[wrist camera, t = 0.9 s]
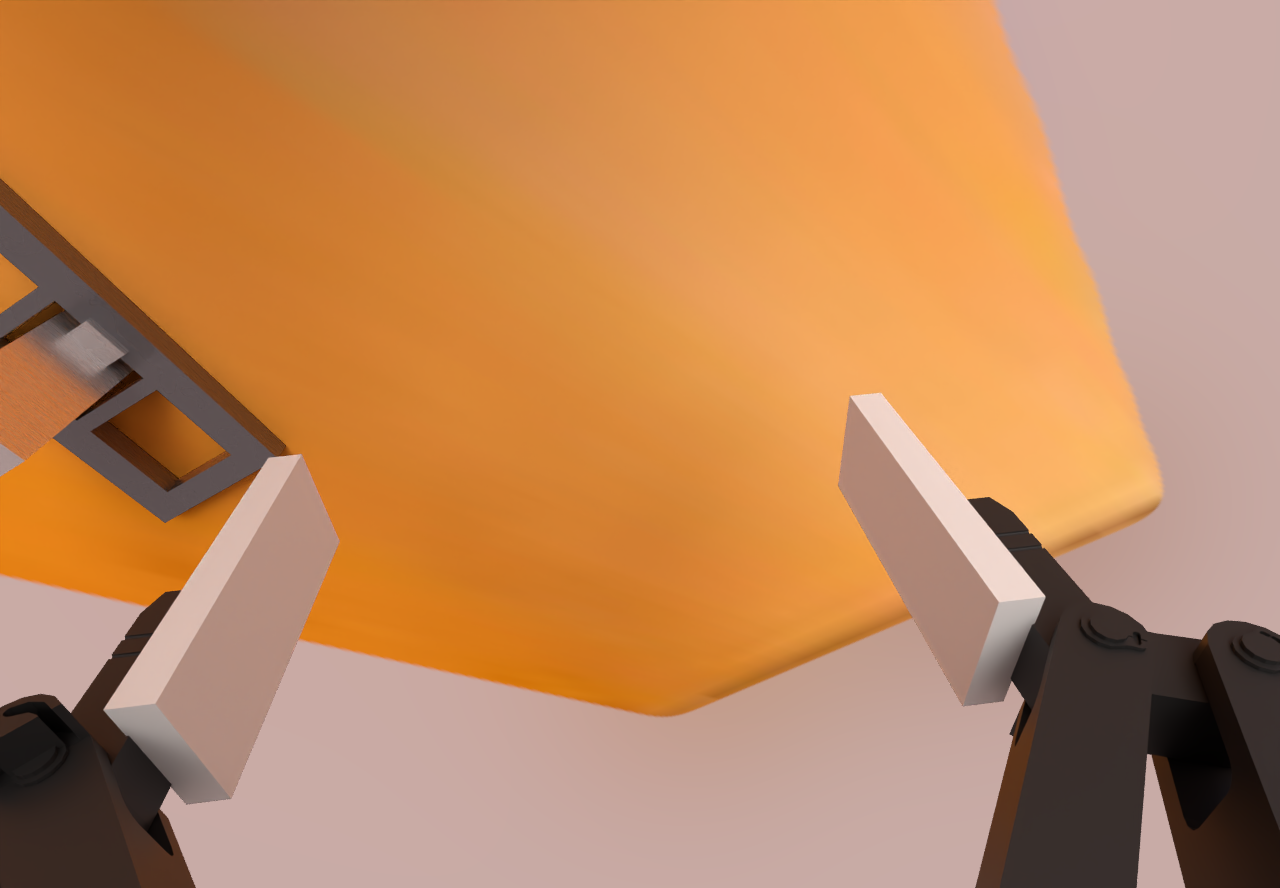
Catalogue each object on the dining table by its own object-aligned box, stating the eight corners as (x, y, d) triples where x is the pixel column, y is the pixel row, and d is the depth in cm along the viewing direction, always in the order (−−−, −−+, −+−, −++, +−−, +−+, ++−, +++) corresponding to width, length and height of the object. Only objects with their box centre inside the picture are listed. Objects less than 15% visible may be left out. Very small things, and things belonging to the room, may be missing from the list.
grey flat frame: (-179, 233, 34) (-207, 241, 33) (-51, 131, 32) (-76, 136, 31) (176, 508, 46) (165, 522, 45) (285, 445, 44) (277, 458, 43)
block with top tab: (0, 354, 38) (-155, 449, 30) (88, 294, 37) (-50, 377, 29) (70, 409, 41) (-57, 511, 32) (155, 355, 39) (45, 448, 31)
